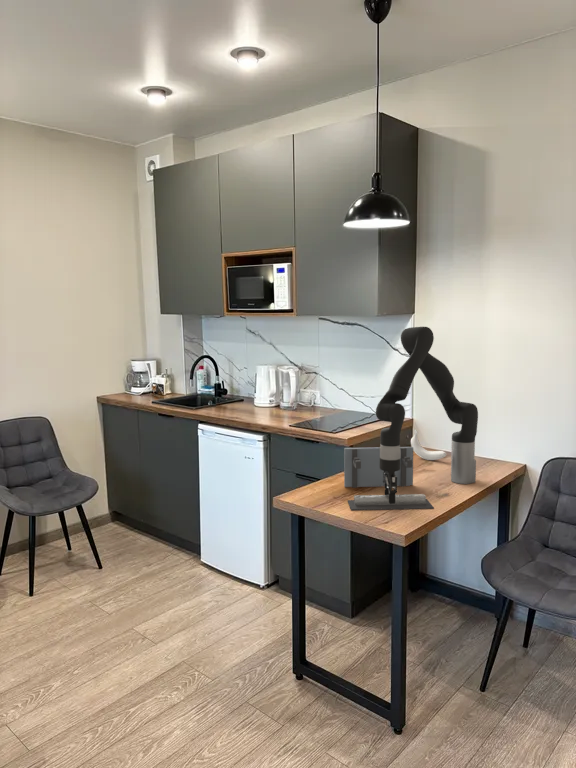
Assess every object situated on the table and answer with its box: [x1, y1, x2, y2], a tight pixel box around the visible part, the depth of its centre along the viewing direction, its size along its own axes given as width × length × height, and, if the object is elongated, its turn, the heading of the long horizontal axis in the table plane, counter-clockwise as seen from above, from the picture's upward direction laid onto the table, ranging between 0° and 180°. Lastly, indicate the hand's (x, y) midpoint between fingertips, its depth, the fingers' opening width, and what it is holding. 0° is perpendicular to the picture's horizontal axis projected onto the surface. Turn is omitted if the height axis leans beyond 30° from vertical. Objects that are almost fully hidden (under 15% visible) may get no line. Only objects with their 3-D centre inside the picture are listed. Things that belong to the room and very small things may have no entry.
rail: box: [353, 493, 427, 506], centre depth 211 cm, size 26×2×3 cm, turn 91°
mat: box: [347, 498, 435, 511], centre depth 212 cm, size 30×10×1 cm, turn 91°
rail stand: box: [343, 446, 414, 489], centre depth 228 cm, size 28×13×16 cm, turn 91°
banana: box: [410, 429, 447, 461], centre depth 274 cm, size 5×19×15 cm, turn 49°
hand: (389, 499), depth 211 cm, fingers open, 8 cm apart
